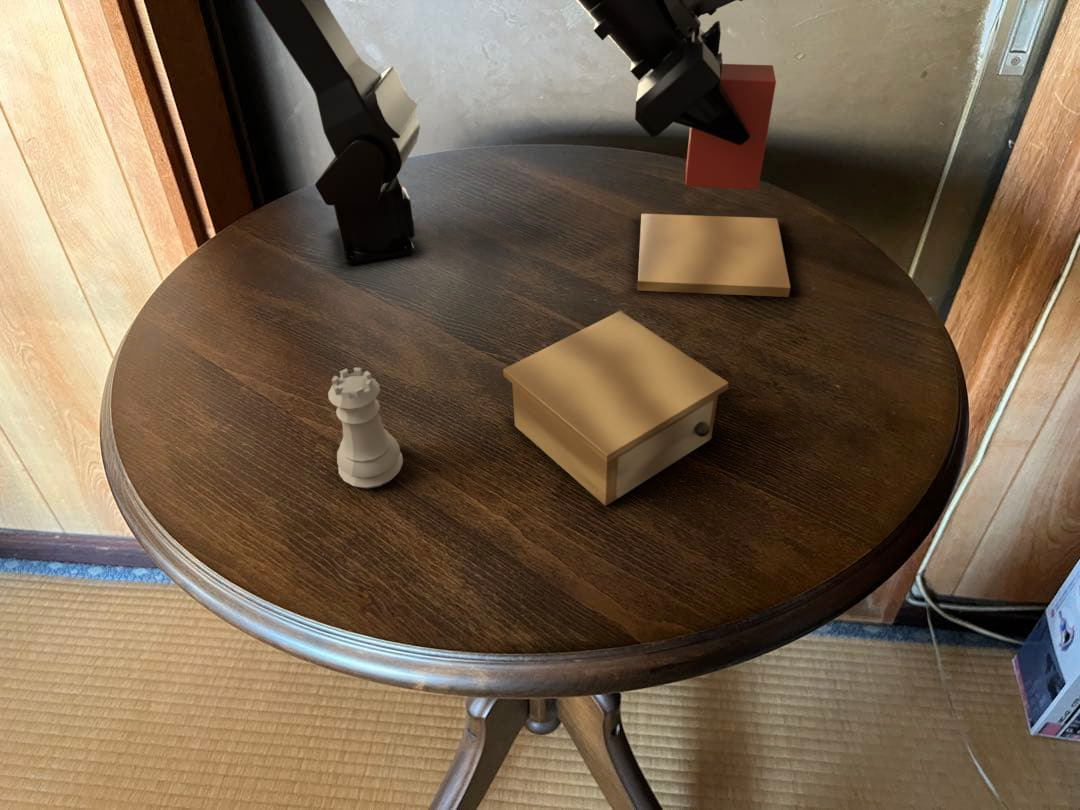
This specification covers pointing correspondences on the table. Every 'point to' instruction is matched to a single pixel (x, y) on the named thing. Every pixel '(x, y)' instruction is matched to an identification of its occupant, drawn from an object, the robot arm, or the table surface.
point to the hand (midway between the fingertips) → (744, 131)
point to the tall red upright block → (726, 160)
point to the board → (712, 255)
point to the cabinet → (614, 404)
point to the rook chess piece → (363, 432)
